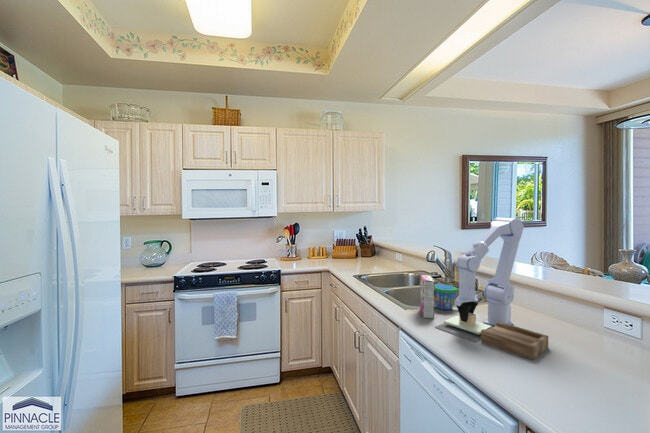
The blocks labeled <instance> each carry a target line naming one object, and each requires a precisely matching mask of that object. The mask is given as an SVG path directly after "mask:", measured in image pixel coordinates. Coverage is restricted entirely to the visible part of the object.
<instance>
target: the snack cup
mask: <svg viewBox="0 0 650 433" xmlns="http://www.w3.org/2000/svg"><path fill="white" fill-rule="evenodd" d="M457 292H458V293H459V288H457V287H455V286H453V285H450V284H449V285H448V284H442V283H438V284H435V285H434V307H435V308H437V309H438V310H439V309H440V310H444V311H448V310H449V311H451V310H452V309H453V307H454V303H455V296H456V293H457Z"/></svg>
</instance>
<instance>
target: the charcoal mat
mask: <svg viewBox="0 0 650 433" xmlns="http://www.w3.org/2000/svg"><path fill="white" fill-rule="evenodd" d="M434 328H435V329H438V330H439V331H440V330H441V331H443V332H445V333H449V334H451V335H453V336H457V337H459V338H461V339H465V340H468V341H470V342H473V343H477V342H478V341H481V334H480V335H479V334H476V333H473V332H470V331H467V330H464V329H461V328H458V327H455V326H452V325H449V324H446V323H444V322H443V323H441V324H438V325H436V326H434Z"/></svg>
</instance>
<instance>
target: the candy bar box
mask: <svg viewBox="0 0 650 433" xmlns="http://www.w3.org/2000/svg"><path fill="white" fill-rule="evenodd" d="M434 285H436V284H435V280H434V278H433V277H432V275H429V274H428V275H426V274H421V275H420V291H419V293H420V306H419V307H420V312H421V315H422V318H424V319H435V299H434Z"/></svg>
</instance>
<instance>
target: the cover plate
mask: <svg viewBox="0 0 650 433" xmlns="http://www.w3.org/2000/svg"><path fill="white" fill-rule="evenodd" d="M476 316H477V314H476V313H469V314H468V320H467V322H463V321H461V318H460V314H459V315H455V316H452V317H450V318H448V319H445V320H443V323H446V324H449V325H452V326H455V327H458V328H461V329H464V330H467V331H470V332H473V333H476V334H479V335H480V334H481V330H483V329H484V330H489V329H491V328H493V325H490V324H487V323H484V322H480V321H478V320H477V317H476Z"/></svg>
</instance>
